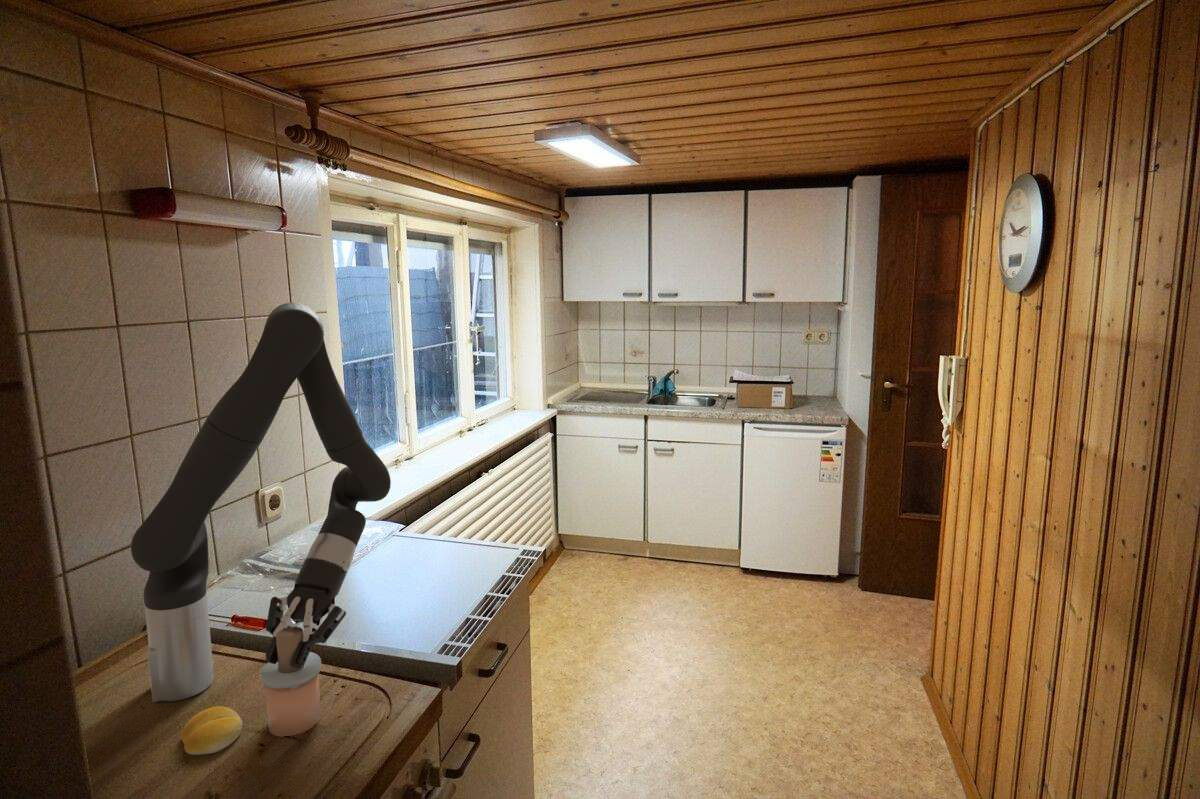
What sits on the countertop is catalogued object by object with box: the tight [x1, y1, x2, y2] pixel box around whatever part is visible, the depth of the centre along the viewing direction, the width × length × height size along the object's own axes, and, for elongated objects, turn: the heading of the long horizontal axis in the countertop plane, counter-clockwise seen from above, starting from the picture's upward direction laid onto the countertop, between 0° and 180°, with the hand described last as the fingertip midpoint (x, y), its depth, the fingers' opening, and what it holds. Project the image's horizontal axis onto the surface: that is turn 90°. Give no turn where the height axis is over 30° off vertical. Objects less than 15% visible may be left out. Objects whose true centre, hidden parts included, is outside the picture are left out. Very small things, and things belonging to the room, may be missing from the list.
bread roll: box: [181, 705, 243, 756], centre depth 103 cm, size 8×9×4 cm
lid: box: [260, 626, 322, 690], centre depth 105 cm, size 9×9×8 cm
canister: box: [264, 673, 321, 738], centre depth 107 cm, size 8×8×9 cm
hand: (282, 664), depth 104 cm, fingers closed on lid, 4 cm apart
